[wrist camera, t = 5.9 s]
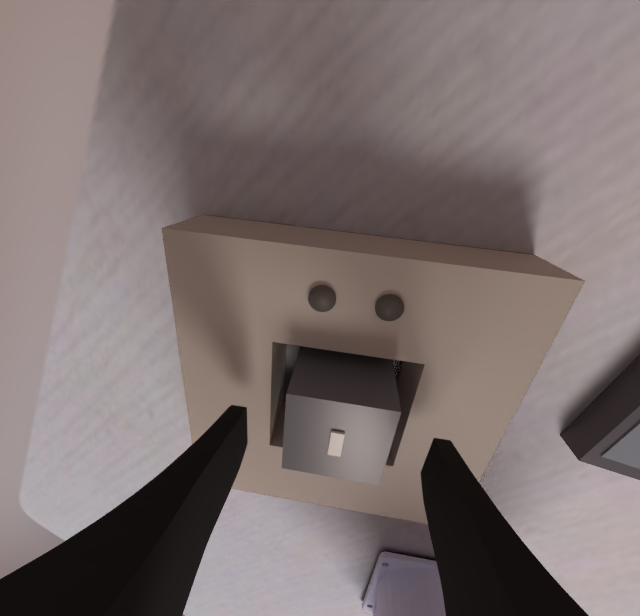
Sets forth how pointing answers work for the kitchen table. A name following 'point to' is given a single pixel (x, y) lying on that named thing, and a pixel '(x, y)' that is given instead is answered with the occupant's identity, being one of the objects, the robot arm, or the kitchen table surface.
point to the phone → (611, 426)
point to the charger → (340, 415)
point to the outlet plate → (359, 341)
